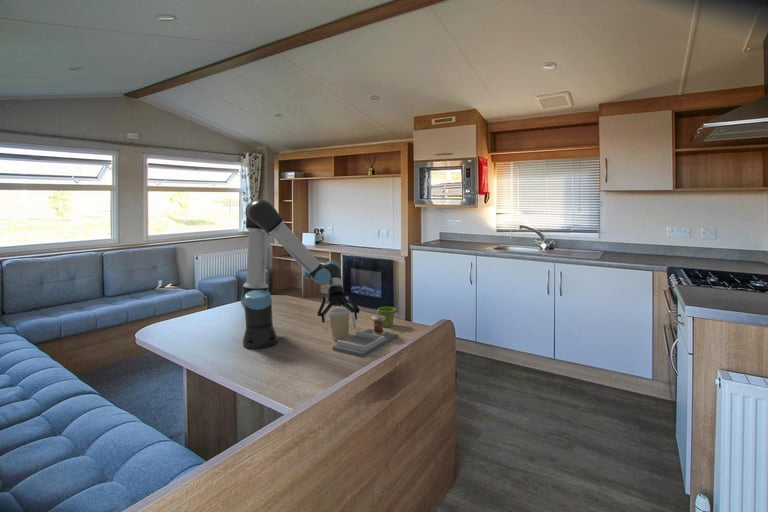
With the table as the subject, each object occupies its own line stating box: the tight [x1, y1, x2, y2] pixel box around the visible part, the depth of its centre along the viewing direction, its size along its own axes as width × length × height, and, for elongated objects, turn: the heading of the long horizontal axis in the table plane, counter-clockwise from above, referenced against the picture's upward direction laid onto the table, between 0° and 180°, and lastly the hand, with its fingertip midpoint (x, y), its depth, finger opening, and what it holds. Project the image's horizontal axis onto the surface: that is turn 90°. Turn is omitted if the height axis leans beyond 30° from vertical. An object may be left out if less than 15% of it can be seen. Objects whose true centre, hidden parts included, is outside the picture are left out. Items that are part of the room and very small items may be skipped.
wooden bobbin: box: [371, 314, 386, 336], centre depth 192 cm, size 6×6×8 cm
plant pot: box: [376, 306, 397, 328], centre depth 209 cm, size 9×9×9 cm
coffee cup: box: [328, 308, 350, 339], centre depth 195 cm, size 9×9×12 cm
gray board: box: [332, 328, 399, 358], centre depth 184 cm, size 28×16×4 cm, turn 147°
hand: (340, 327), depth 193 cm, fingers open, 13 cm apart
